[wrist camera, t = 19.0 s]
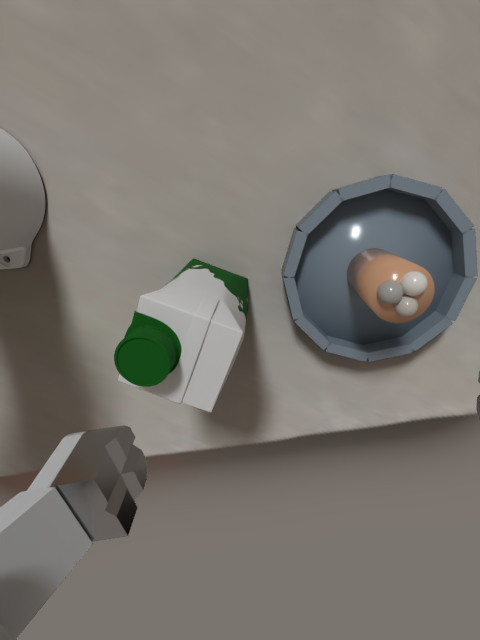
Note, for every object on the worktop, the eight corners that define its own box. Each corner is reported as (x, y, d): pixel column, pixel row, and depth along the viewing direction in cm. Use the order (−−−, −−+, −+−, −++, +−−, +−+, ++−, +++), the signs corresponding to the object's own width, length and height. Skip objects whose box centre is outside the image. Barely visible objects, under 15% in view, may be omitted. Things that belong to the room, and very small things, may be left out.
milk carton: (188, 248, 40) (123, 292, 21) (258, 274, 41) (255, 340, 22) (168, 312, 43) (96, 400, 24) (234, 336, 44) (213, 440, 25)
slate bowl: (303, 362, 44) (306, 375, 41) (266, 209, 38) (266, 210, 35) (463, 327, 41) (480, 338, 38) (451, 155, 35) (471, 150, 32)
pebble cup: (350, 300, 40) (378, 334, 30) (343, 254, 38) (370, 275, 28) (399, 289, 39) (444, 321, 29) (393, 242, 37) (440, 259, 27)
